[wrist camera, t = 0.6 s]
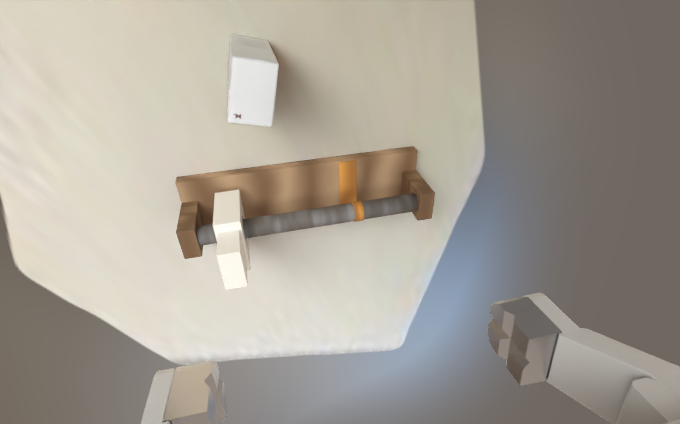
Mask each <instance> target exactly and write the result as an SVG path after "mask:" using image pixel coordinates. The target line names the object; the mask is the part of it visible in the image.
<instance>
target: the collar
mask: <svg viewBox="0 0 680 424" xmlns="http://www.w3.org/2000/svg"><path fill="white" fill-rule="evenodd" d="M242 219H245V216H244V211H243V206H242V201H241V196H240V191H239V190H232V191H225V192H218V193H215V197H214V212H213V229H214V233H215V236H216V240H217V253H216V256H217V260H218V263H219V267H220V271H221V274H222V278H223V282H224V285H225V289H226V290H228V289H234V288H239V287H245V286H248V284H247V270H249V269H250V254H249V238H245V234H244V230H243V224H242Z"/></svg>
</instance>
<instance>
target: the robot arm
mask: <svg viewBox="0 0 680 424" xmlns="http://www.w3.org/2000/svg"><path fill="white" fill-rule="evenodd" d="M490 314H491V315H492V316H493V319H492V320H491V322H490V323H489V324H488V336H489V341H490V343H491V346H492V348H493V349H494V351H495V352H496V354H497V355H498V356H500V357H502V358H504V359H505V360H507V364H506V367H507V369H508V370H509V372H510V373H511V374H512V376H513V377H514V379H515V380H516V381H517V383H518V384H519V386H522V385H527V384H531V383H536V382H541V381H546V380H547V382H548V383H550V384H551V385H553V386H554V387H556V388H558V389H559V390H561V391H562V392H564V393H565V394H567V395H568V396H570V397H572V398H573V399H575V400H576V401H578V402H579V403H581V404H582V405H584V406H585V407H587V408H589V409H590V410H592V411H594V412H595V413H596V414H598V415H599V416H601V417H603V418H604V419H606V420H607V421H609V422H610V423H612V424H680V367H679V366H676V365H674V364H671V363H669V362H666V361H664V360H662V359H659V358H656V357H654V356H651V355H649V354H647V353H644V352H642V351H640V350H637V349H635V348H632V347H630V346H627V345H625V344H623V343H620V342H618V341H615V340H613V339H610V338H608V337H606V336H603V335H601V334H598V333H596V332H593V331H591V330H589V329H586V328H583V329H580V328H579V327H578V326H577V325H576V324H575V323H574V322H572V321H571V320H570V319H569V318H568V317H567V316H566V315H565V314H564V313H563V312H562V311H561V310H560V309H559V308H558V307H557V306H556V305H555V304H553V302H551V300H549V299H548V298H547V297H546V296H545V295H544V294H542V293H536V294H531V295H526V296H523V297H518V298H512V299H508V300H503V301H499V302H494V303H493V304H492V306H491V309H490ZM218 377H219V368H218V365H217V362H216V361H209V362H203V363H198V364H192V365H187V366H181V367H177V368H173V369H167V370H162V371H157V373H156V374H155V376H154V378H153V382H152V385H151V389H150V392H149V396H148V399H147V403H146V407H145V410H144V414H143V418H142V421H141V424H222V422H223V421H224V419H225V418H226V413H227V402H226V392H225V387H224V384H223V381H222V380H220V379H218Z"/></svg>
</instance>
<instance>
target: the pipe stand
mask: <svg viewBox="0 0 680 424" xmlns="http://www.w3.org/2000/svg"><path fill="white" fill-rule="evenodd" d="M416 160H417V150H416V149H415V148H414V147H413V146H412V147H405V148H397V149H389V150H382V151H374V152H366V153H359V154H351V155H343V156H336V157H328V158H320V159H313V160H305V161H297V162H290V163H282V164H274V165H267V166H259V167H251V168H244V169H236V170H228V171H221V172H213V173H205V174H198V175H190V176H182V177H177V179H176V186H177V189H178V192H179V195H180V199H181V202H182V205H181V210H180V215H179V220H178V225H177V230H176V234H177V237H178V240H179V243H180V246H181V249H182V252H183V255H184V258H185V259H187V258H193V257H200V256H202V250H203V245H207V244H213V243H217V240H216V236H215V233H214V229H213V212H214V197H215V193H218V192H225V191H232V190H239V191H240V196H241V201H242V206H243V211H244V216H245V219H242V224H243V230H244V234H245V238H251V237H257V236H263V235H269V234H275V233H282V232H288V231H294V230H300V229H307V228H313V227H319V226H325V225H332V224H338V223H344V222H350V221H354V222H355V221H361V220H364V219H369V218H375V217H381V216H388V215H394V214H400V213H406V212H412V213H413V214H414V216H415V217H416V219H417V220H424V219H430V218H432V212H433V204H434V196H435V192H434V191H433V190H432V189H431V188H430V186H429V185H428V184H427V183H426V182H425V181H424V179H423V178H422V177H421V176H420V175H419V173H418V172H417V171H416Z"/></svg>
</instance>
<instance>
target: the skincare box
mask: <svg viewBox="0 0 680 424" xmlns="http://www.w3.org/2000/svg"><path fill="white" fill-rule="evenodd" d="M278 70H279V63H278V61H277V59H276V57H275V55H274V53H273V51H272V48H271V46H270V44H269V42H268V41H267V40H261V39H256V38H251V37H246V36H240V35H235V34H231V35H230V44H229V59H228V83H227V122H228V123H231V124H243V125H255V126H265V127H272V125H273V118H274V110H275V100H276V89H277V80H278Z"/></svg>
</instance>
